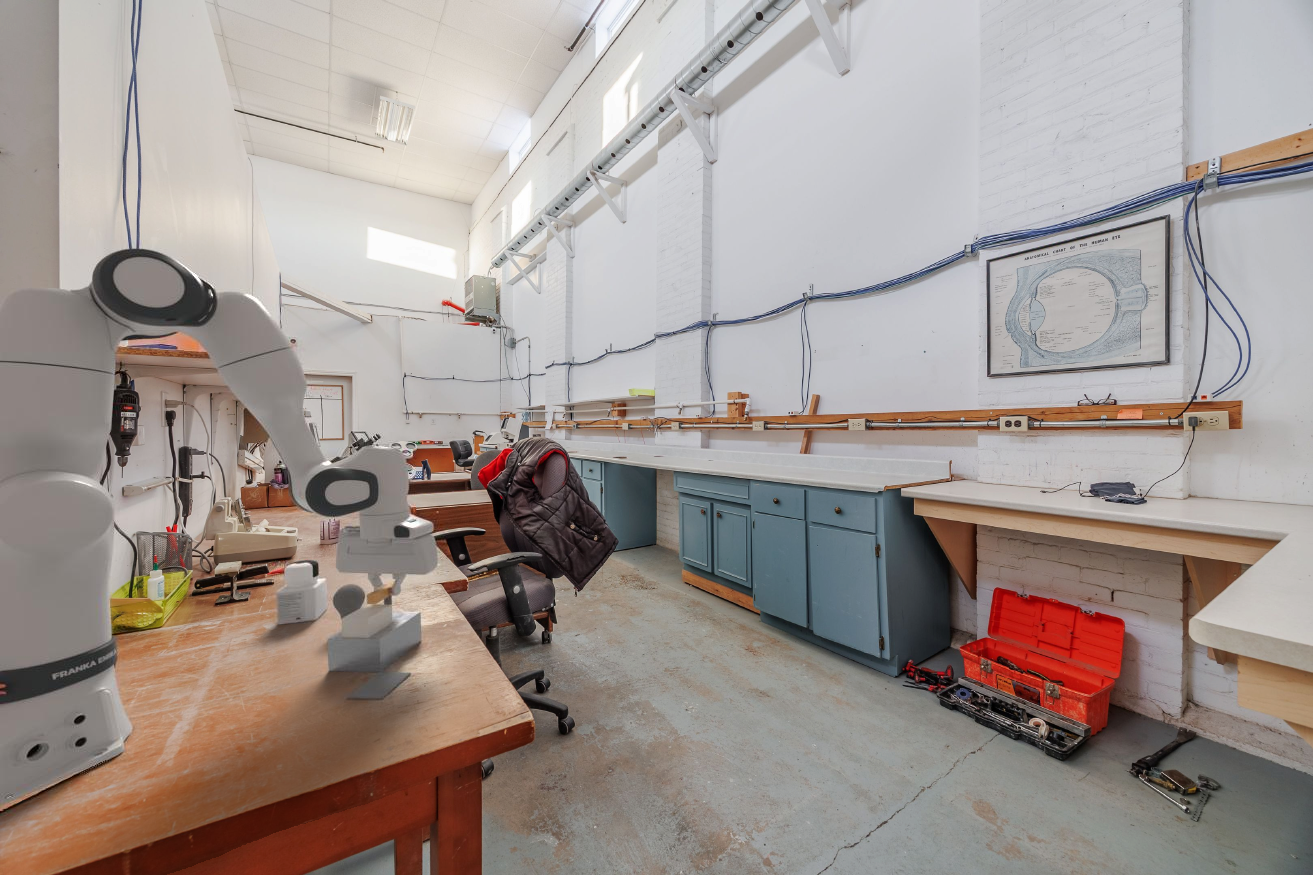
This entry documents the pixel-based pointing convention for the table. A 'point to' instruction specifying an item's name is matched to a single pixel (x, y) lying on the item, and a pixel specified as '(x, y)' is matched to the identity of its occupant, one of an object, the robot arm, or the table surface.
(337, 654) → the box
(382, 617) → the cream white box
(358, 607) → the light bulb
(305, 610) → the container
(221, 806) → the table surface
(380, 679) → the mat
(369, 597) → the t key
